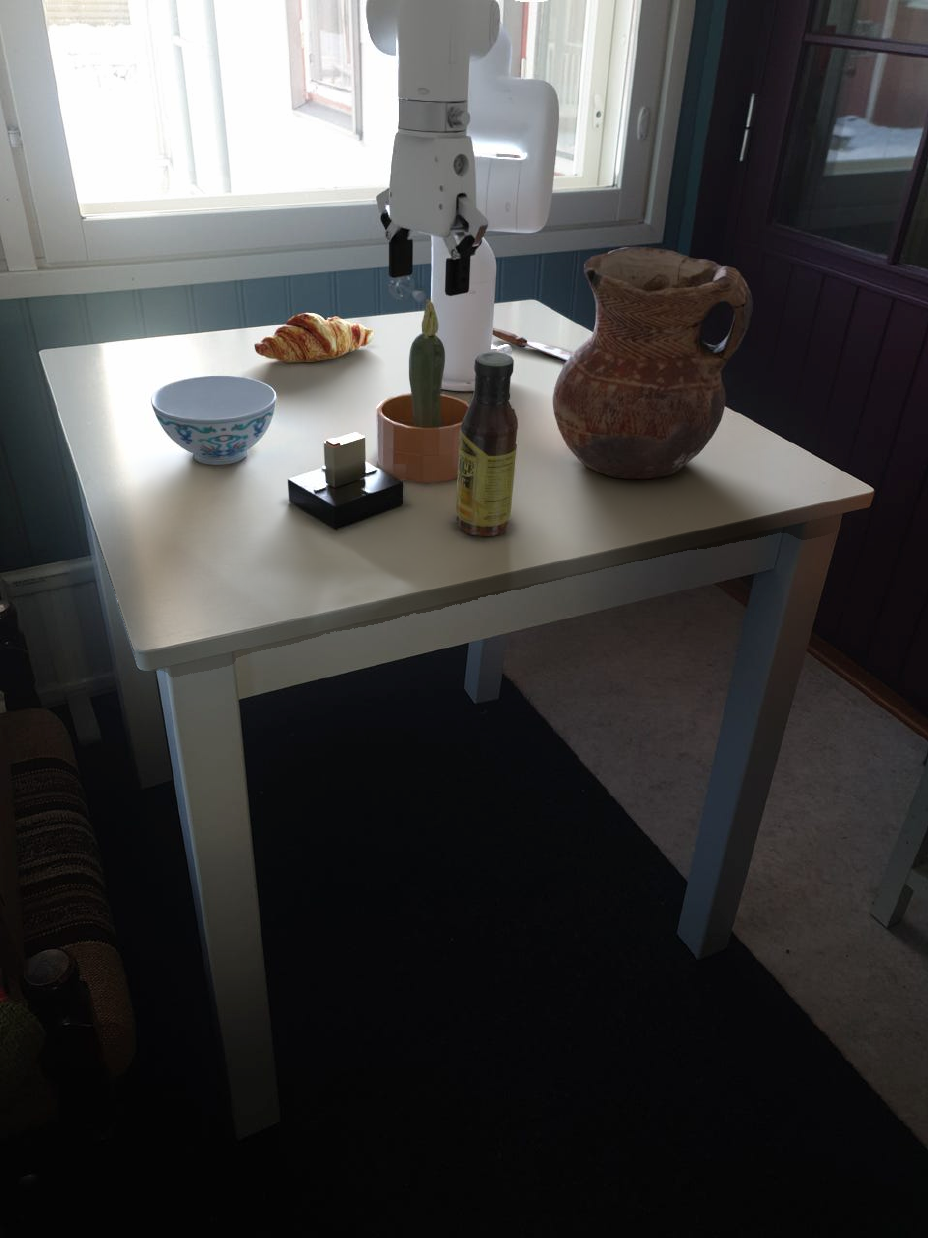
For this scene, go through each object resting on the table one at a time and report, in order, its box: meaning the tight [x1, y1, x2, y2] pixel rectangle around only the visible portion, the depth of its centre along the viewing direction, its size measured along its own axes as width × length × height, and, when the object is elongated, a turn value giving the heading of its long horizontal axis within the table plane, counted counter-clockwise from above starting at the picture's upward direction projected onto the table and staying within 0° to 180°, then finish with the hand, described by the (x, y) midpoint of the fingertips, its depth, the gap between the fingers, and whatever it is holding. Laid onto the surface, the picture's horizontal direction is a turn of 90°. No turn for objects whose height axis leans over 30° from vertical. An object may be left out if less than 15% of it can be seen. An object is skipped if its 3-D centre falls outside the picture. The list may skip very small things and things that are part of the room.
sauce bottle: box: [455, 352, 519, 537], centre depth 104 cm, size 7×6×20 cm
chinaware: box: [150, 375, 277, 466], centre depth 121 cm, size 15×15×8 cm
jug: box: [552, 246, 754, 480], centre depth 120 cm, size 22×21×25 cm
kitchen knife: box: [492, 327, 573, 362], centre depth 163 cm, size 21×2×5 cm
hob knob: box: [323, 432, 367, 488], centre depth 110 cm, size 5×2×5 cm, turn 134°
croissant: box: [254, 312, 375, 364], centre depth 155 cm, size 21×10×8 cm, turn 126°
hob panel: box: [287, 462, 405, 531], centre depth 112 cm, size 10×9×3 cm
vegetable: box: [408, 298, 445, 428], centre depth 118 cm, size 4×4×20 cm
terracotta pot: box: [376, 392, 470, 484], centre depth 122 cm, size 12×12×7 cm
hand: (428, 284), depth 111 cm, fingers open, 9 cm apart
